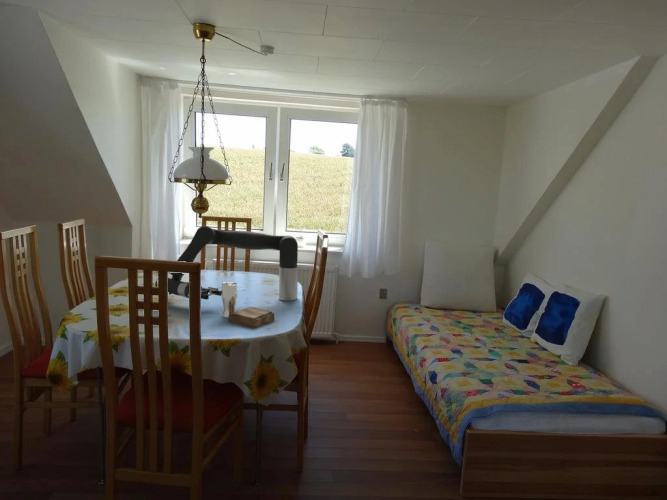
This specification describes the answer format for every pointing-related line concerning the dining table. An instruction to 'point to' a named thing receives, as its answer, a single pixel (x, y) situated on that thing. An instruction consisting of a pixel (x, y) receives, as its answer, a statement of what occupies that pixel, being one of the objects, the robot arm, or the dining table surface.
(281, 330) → the dining table surface
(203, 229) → the robot arm
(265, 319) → the walnut stand
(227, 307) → the beer glass
